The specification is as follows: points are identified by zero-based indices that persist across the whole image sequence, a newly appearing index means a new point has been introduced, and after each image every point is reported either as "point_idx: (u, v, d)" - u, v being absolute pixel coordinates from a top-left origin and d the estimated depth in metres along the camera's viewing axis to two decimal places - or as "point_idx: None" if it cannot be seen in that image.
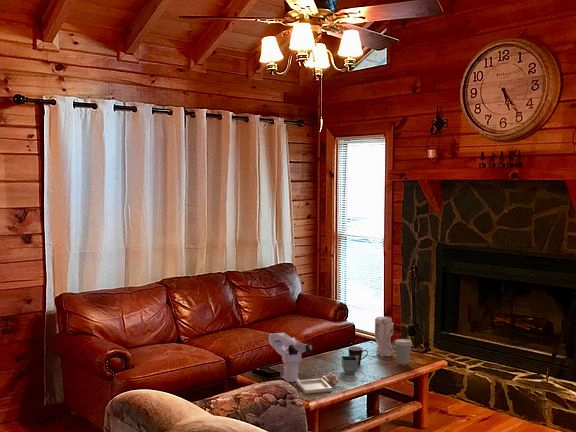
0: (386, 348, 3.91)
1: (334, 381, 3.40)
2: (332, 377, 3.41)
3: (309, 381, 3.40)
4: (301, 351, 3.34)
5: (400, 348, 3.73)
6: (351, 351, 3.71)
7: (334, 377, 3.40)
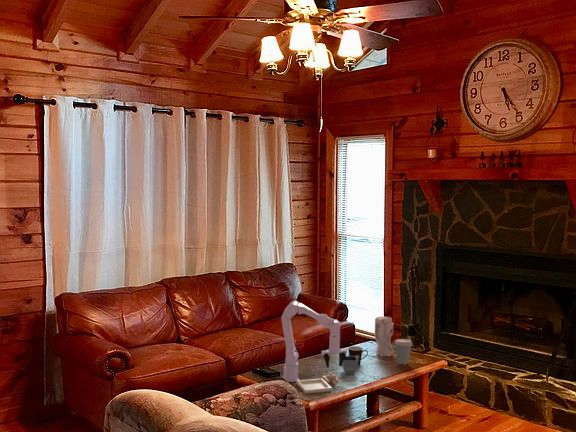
0: (386, 348, 3.91)
1: (334, 381, 3.40)
2: (332, 377, 3.41)
3: (309, 381, 3.40)
4: None
5: (400, 348, 3.73)
6: (351, 351, 3.71)
7: (334, 377, 3.40)
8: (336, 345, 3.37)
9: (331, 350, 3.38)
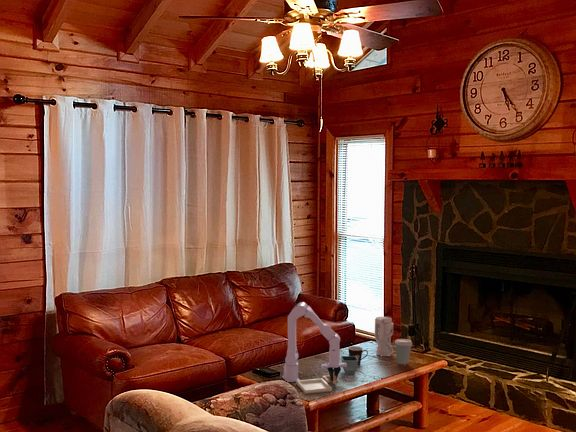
0: (386, 348, 3.91)
1: (334, 381, 3.40)
2: None
3: (309, 381, 3.40)
4: None
5: (400, 348, 3.73)
6: (351, 351, 3.71)
7: (334, 377, 3.40)
8: (336, 359, 3.38)
9: (331, 364, 3.38)
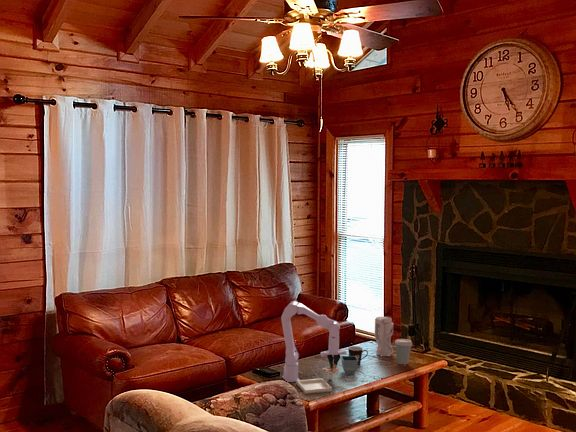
0: (386, 348, 3.91)
1: (334, 370, 3.38)
2: None
3: (309, 381, 3.40)
4: None
5: (400, 348, 3.73)
6: (351, 351, 3.71)
7: (334, 366, 3.38)
8: (335, 346, 3.36)
9: (330, 351, 3.37)
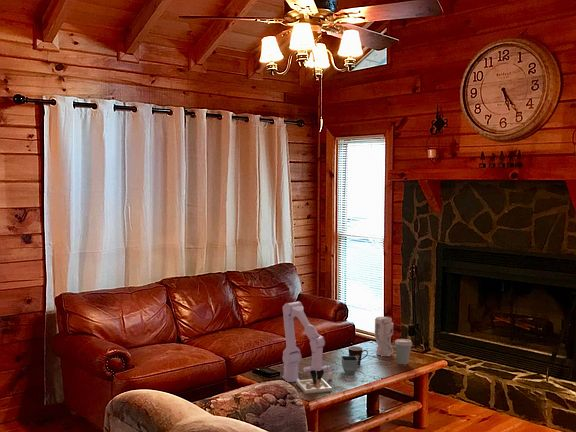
0: (386, 348, 3.91)
1: (318, 385, 3.27)
2: (316, 381, 3.28)
3: (309, 381, 3.40)
4: None
5: (400, 348, 3.73)
6: (351, 351, 3.71)
7: (318, 381, 3.27)
8: (318, 362, 3.26)
9: (313, 367, 3.27)
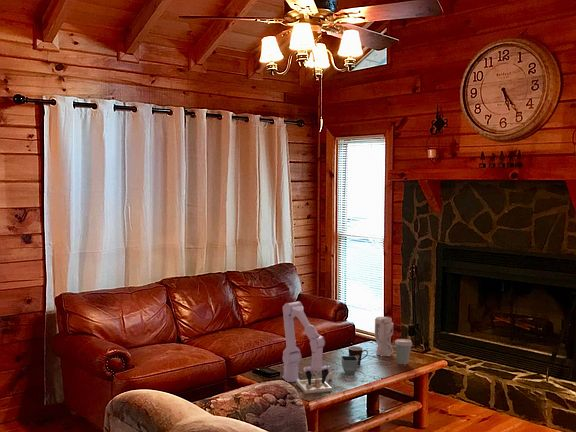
0: (386, 348, 3.91)
1: (318, 385, 3.27)
2: (316, 381, 3.28)
3: None
4: None
5: (400, 348, 3.73)
6: (351, 351, 3.71)
7: (318, 381, 3.27)
8: (318, 362, 3.26)
9: (313, 367, 3.27)
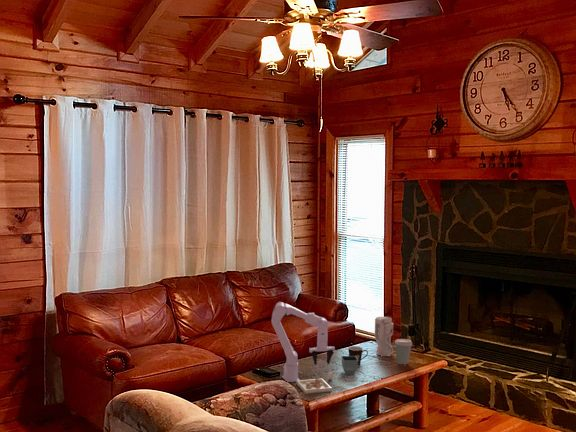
0: (386, 348, 3.91)
1: (318, 385, 3.27)
2: (316, 381, 3.28)
3: (309, 381, 3.40)
4: None
5: (400, 348, 3.73)
6: (351, 351, 3.71)
7: (318, 381, 3.27)
8: (324, 343, 3.41)
9: (319, 347, 3.42)
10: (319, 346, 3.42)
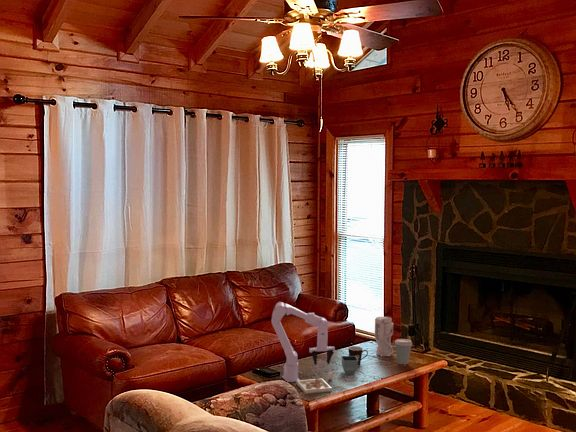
0: (386, 348, 3.91)
1: (318, 385, 3.27)
2: (316, 381, 3.28)
3: (309, 381, 3.40)
4: None
5: (400, 348, 3.73)
6: (351, 351, 3.71)
7: (318, 381, 3.27)
8: (324, 343, 3.41)
9: (319, 347, 3.42)
10: (319, 346, 3.42)
